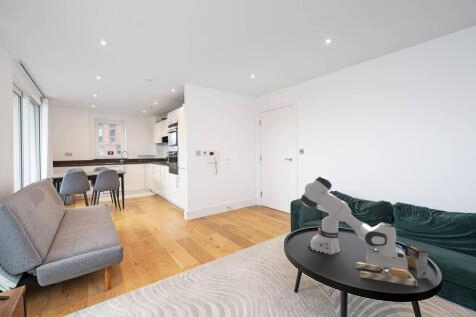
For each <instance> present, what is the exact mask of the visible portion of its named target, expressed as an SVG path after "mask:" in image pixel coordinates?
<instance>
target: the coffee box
mask: <svg viewBox="0 0 476 317" xmlns="http://www.w3.org/2000/svg"><path fill="white" fill-rule="evenodd" d="M404 247H405V248H404V254H405V255H406V260H407V264H408V268H407V270H408V271H409V272H410V273H411V274H412V276H413V277H414V278H415V279H427V278H428V277H427V276H428V264H429V263H428V258H429V251H428V250H426V249H424V248H423V247H421V246H418V245H416V244H405V245H404Z"/></svg>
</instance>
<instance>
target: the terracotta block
mask: <svg viewBox="0 0 476 317" xmlns="http://www.w3.org/2000/svg"><path fill="white" fill-rule="evenodd" d="M388 275H390V276H397V277H403V278H408V272H407V271H406V270H403V269H396V268H392V269H391V271H390V272H389V274H388Z"/></svg>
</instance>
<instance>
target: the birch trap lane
mask: <svg viewBox="0 0 476 317" xmlns="http://www.w3.org/2000/svg"><path fill="white" fill-rule="evenodd" d="M355 266H356V269H362V270H360V275H359V276H360V277H361V278H363V279H369V280H375V281H376V280H377V281H382V282H387V283H388V282H389V283H395V284H400V285H407V286H413V287H418V280H417V278H416V277H415V276H413V275H412V274H411V273H410V272H409V271H408V270H407V269H406V271H407V272H408V278H403V277H397V276H390V275H389V274H383V273H378V272H381V270H383V269H384V270H387V269H388V267H384V268H383V269H382V268H381V266H376V265H370V264H368V263H367V262H360V261H356V265H355ZM363 270H369V271H363ZM370 271H371V272H370ZM372 271H375V272H372ZM376 272H377V273H376Z"/></svg>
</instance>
